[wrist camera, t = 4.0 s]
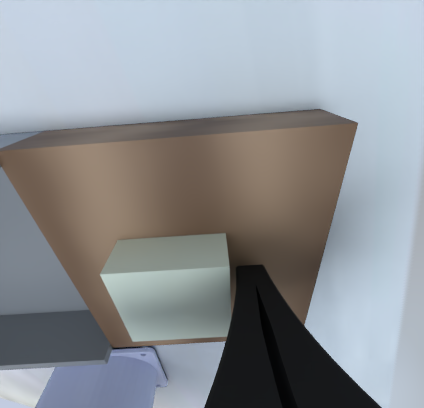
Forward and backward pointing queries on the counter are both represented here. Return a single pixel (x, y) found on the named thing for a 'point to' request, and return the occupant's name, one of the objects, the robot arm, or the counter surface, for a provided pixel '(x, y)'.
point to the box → (39, 294)
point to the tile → (171, 286)
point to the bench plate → (187, 196)
